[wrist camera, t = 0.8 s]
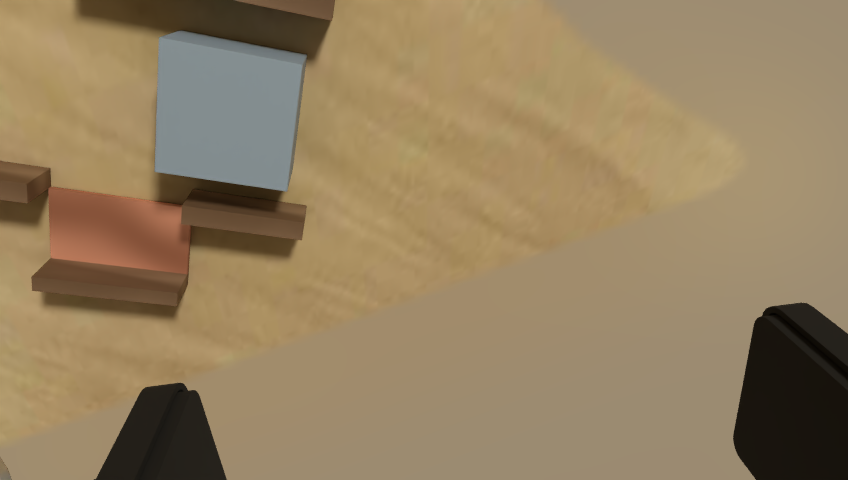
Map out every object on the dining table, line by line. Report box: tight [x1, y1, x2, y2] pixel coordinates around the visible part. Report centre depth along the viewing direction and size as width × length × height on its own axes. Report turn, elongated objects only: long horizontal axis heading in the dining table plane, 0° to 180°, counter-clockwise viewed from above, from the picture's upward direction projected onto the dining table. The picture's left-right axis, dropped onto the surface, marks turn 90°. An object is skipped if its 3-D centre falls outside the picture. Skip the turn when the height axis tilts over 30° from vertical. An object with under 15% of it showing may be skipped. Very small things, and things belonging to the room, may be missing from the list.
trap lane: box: [0, 0, 335, 306], centre depth 27 cm, size 22×27×2 cm
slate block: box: [155, 30, 307, 191], centre depth 29 cm, size 6×6×4 cm
